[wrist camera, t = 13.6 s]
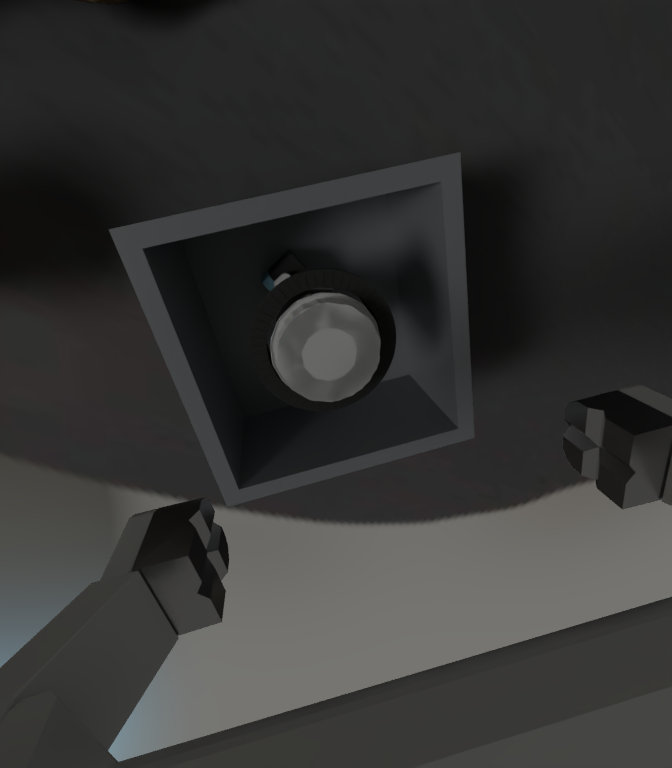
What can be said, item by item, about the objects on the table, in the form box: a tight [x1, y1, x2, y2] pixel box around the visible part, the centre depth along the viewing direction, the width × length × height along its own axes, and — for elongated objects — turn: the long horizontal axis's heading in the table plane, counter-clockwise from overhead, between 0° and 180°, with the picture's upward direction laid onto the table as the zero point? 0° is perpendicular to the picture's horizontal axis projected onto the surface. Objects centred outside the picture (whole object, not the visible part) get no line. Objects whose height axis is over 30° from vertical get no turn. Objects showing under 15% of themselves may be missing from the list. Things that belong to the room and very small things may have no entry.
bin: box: [109, 152, 474, 507], centre depth 20 cm, size 13×13×8 cm
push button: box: [250, 250, 396, 411], centre depth 18 cm, size 7×5×10 cm
